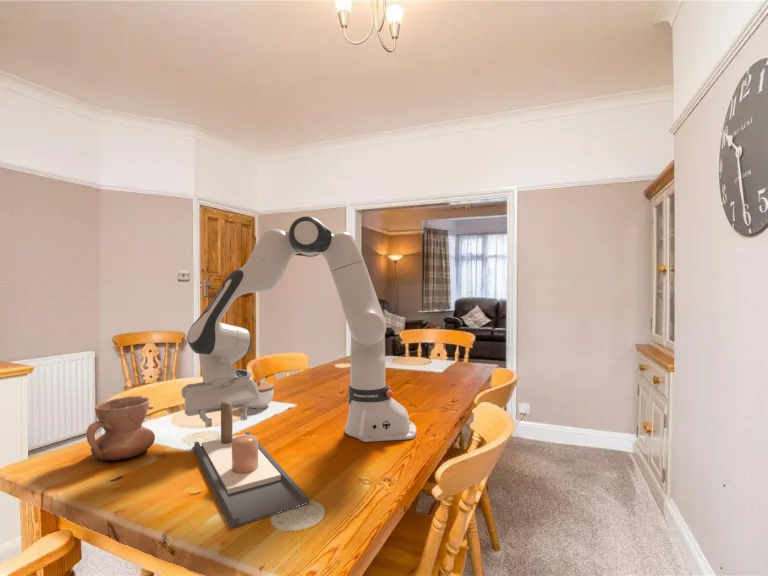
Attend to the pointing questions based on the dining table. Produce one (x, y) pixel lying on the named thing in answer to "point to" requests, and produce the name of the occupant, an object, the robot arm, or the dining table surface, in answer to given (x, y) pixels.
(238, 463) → the pink pillar candle
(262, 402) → the lidded jar
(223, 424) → the wooden peg stand
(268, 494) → the grey rimmed tray
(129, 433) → the ceramic jug
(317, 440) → the dining table surface
